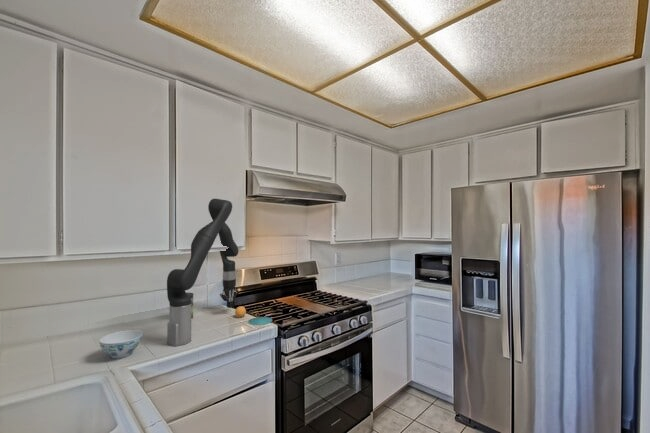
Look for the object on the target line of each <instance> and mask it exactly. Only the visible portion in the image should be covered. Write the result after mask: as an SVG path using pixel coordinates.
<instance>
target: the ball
mask: <svg viewBox="0 0 650 433" xmlns="http://www.w3.org/2000/svg"><path fill="white" fill-rule="evenodd" d="M234 312H235V315H236V317H238V318H243V317H244V316H245V315H246V313H247V310H246V308H245V307H244V306H238V307H236V308H235V311H234Z"/></svg>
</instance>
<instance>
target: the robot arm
mask: <svg viewBox="0 0 650 433" xmlns="http://www.w3.org/2000/svg"><path fill="white" fill-rule="evenodd" d="M232 211H233V203H232V201H230V200H227V199H226V200H225V199H220V198H212V199H210V201H209V202H208V213H209V215H210V217H211V219H212V221H210V222H209V223H208V224H206V225H204V226H203V227H202V228H200V229H199V230H198V231H197V233H196V234H195V235H194V237H193V240H191V245H190V257H189V261H188V263H187V265H186V266H185V268H184V269H180V268H176V269H172V270H171V271H170V272H169V273H168V276H167V279H166V293H167V294H166V296H167V300H168V303H169V313H168V314H169V318H168V319H169V322H167V326H166V327H167V329H166V330H167V331H166V333H167V337H166V342H167V345H171V346H173V347H178V346H183V345H187V344H189V343H190V342H192V320H191V297H190V296H189V295H188V294H187V293H188V292H186V291H188V290H190V289H191V288H193V286H194V285H195V283H196V282H197V279H198V276H199V274H200V271H201V269H202V267H203V264H204V262H205V259H206V258H207V256H208V254H209V252H210V250H211V248H212V246H213V245H214V243H215V241H216V239H217V236H218V237H219V241H221V242H220V244H221V246H222V245H223V246H227V247H229V248H228V249H226V251H220V250H219V254H220V258H221V260H222V293H219V296H220V298H222V300H223V301H224V302H226V307H227V309H230V308H232V306H233V301H234V300H235V299H236V297H237V295H238V294H239V289H237V288H236V286H237V279H236V278H237V275H236V261H234V260H230V259H229V258H228V257H231V258H232V257H236V256H238V254H239V247H238V245H237V243H236V242H235V240H234V237H233V234H232V230H231V228H230V227H229V225H228V224H227V223H226V221H227V220H228V218H229V217H230V215H231V213H232Z"/></svg>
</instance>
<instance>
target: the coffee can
mask: <svg viewBox="0 0 650 433" xmlns="http://www.w3.org/2000/svg"><path fill="white" fill-rule="evenodd" d="M186 293H187V294H188V295H189V296H190V297H191V319H192V320H193V319H194V296H195V294H194V293H193V292H186Z"/></svg>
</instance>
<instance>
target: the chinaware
mask: <svg viewBox="0 0 650 433" xmlns="http://www.w3.org/2000/svg"><path fill="white" fill-rule="evenodd" d="M142 337H143V332H142V331H141V330H137V329H136V330H135V329H131V330H130V329H128V330H122V331H116V332H112V333H109V334H105V335H104V336H102V337H101V338H99V340H98V342H99V346H100V348H101V350H102V351H103V352H104V353H105V354H106V355H109V356H111V358H112V359H122V358H127V357H128V356H130V355H131V354H132V352H133V351H135V349H137V347H138V345H139V344H140V342H141V341H142Z"/></svg>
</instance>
